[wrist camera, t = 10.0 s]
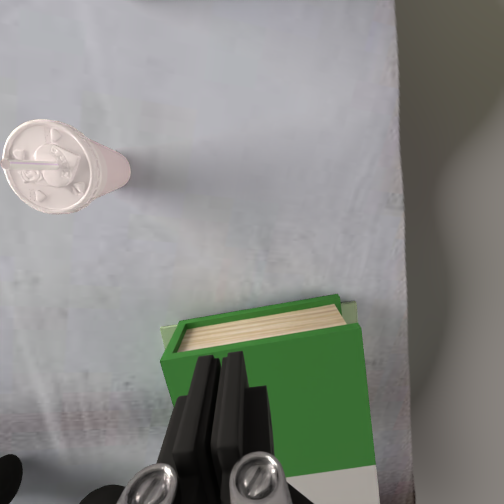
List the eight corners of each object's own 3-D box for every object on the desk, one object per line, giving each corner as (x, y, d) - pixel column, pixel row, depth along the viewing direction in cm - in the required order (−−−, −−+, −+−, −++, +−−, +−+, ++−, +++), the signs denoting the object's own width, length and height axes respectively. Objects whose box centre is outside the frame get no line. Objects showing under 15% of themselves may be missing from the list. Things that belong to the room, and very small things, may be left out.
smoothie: (154, 190, 30) (76, 204, 17) (96, 210, 31) (-24, 240, 17) (128, 125, 29) (18, 84, 15) (67, 148, 29) (-90, 127, 16)
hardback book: (361, 327, 26) (382, 531, 32) (337, 293, 33) (358, 465, 39) (159, 361, 27) (218, 553, 33) (179, 320, 34) (224, 484, 40)
